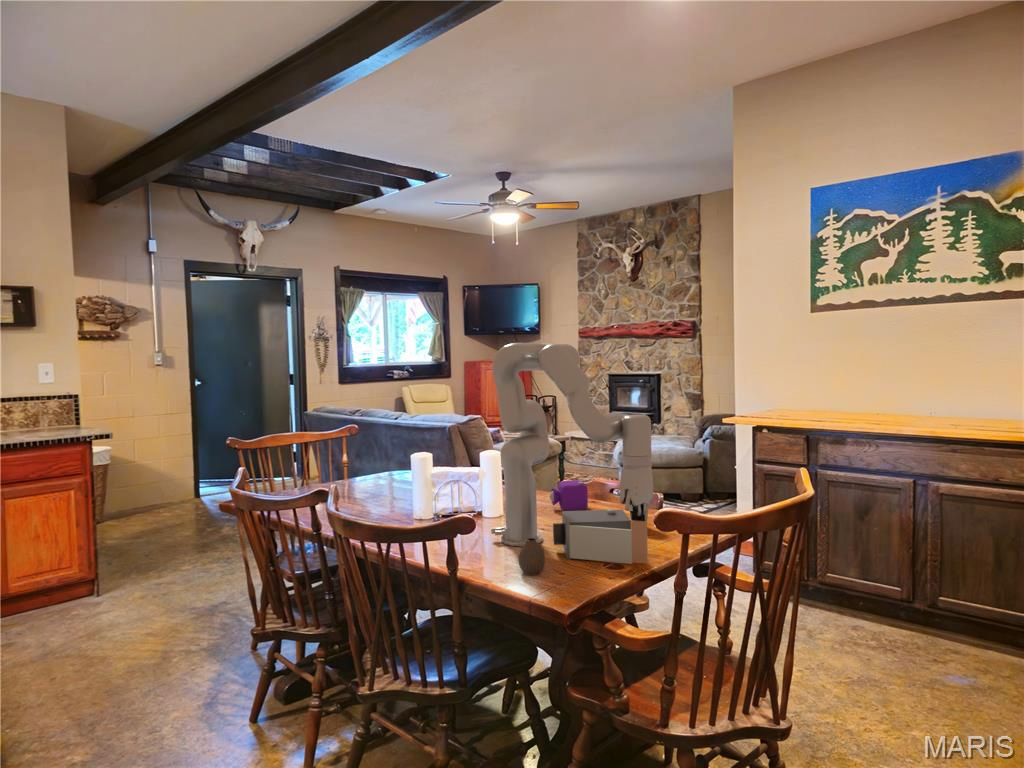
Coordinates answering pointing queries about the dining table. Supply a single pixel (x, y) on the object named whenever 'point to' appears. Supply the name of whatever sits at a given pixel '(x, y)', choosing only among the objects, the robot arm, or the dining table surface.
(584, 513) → the camera housing
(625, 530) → the door
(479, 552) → the dining table surface
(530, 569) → the vase
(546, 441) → the robot arm
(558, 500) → the toy camera
